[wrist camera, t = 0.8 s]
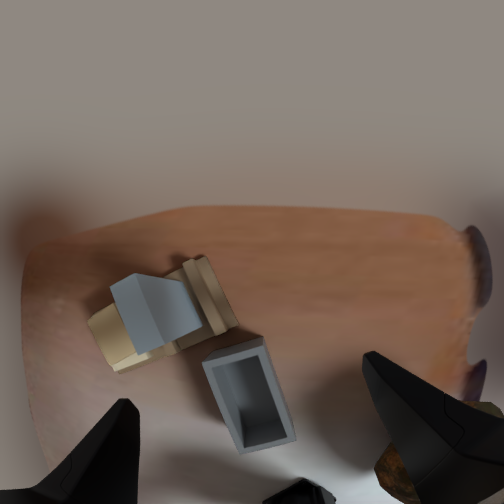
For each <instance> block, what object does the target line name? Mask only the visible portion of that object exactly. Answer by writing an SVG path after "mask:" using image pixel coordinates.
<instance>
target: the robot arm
mask: <svg viewBox="0 0 504 504" xmlns="http://www.w3.org/2000/svg"><path fill="white" fill-rule="evenodd" d="M362 372H363V375H364V378H365V380H366V383H367V386H368V388H369V391H370V394H371V397H372V400H373V402H374V405H375V407H376V409H377V412H378V413H379V415H380V417H381V419H382V421H383V423H384V425H385V427H386V429H387V431H388V433H389V435H390V438H391V440H392V442H393V444H394V446H395V448H396V450H397V452H398V454H399V456H400V458H401V460H402V462H403V465H404V467H405V469H406V471H407V473H408V475H409V477H410V480H411V482H412V484H413V486H414V489H415V491H416V493H417V495H418V498H419V500H420V502H421V504H504V418H500V417H497V416H494V415H491V414H489V413H486V412H484V411H481V410H479V409H476V408H474V407H472V406H469V405H467V404H465V403H463V402H461V401H459V400H457V399H455V398H453V397H452V396H450V395H448V394H446V393H445V394H444V392H443V391H441V390H439V389H438V388H436V387H434V386H433V385H431V384H429V383H427V382H426V381H424V380H422V379H421V378H419V377H417V376H416V375H414V374H412V373H411V372H409V371H407V370H406V369H404V368H402V367H401V366H399V365H397V364H396V363H394V362H392V361H391V360H389V359H387V358H386V357H384V356H382V355H381V354H379V353H377V352H376V351H370V352H367V353H365V354H364V355H363V363H362ZM139 456H140V413H139V411H138V409H137V408H136V407H135V405H134V404H133V403H132V402H131V401H130V400H129V399H128V398H121V399H118V400H117V402H116V403H115V404H114V405H113V406H112V407H111V408H110V409H109V410H108V411H107V413H106V414H105V415H104V416H103V417H102V418H101V419H100V420H99V421H98V423H97V424H96V425H95V426H94V427H93V428H92V429H91V430H90V431H89V433H88V434H87V435H86V436H85V437H84V438H83V439H82V440H81V441H80V443H79V444H78V445H77V446H76V447H75V448H74V449H73V450H72V451H71V453H70V454H69V455H68V456H67V457H66V458H65V459H64V460H63V461H62V462H61V463H60V464H59V465H58V466H57V467H56V468H55V469H54V470H53V471H52V472H51V473H50V474H49V475H48V476H46V477H45V478H44V479H43V480H42V481H41V482H40V483H38V484H37V485H35V486H33V487H31V488H25V489H12V490H0V504H137V497H138V472H139ZM304 482H306V483H304ZM335 502H336V498H335V497H334V496H333V495H332V493H330V492H329V491H327V490H326V489H324V488H323V487H321V486H317V485H315V484H314V483H312V482H311V481H309V480H308V479H302V480H301V481H299V482H297V483H296V484H294V485H292V486H290V487H289V488H287V489H285V490H283V491H282V492H280V493H278V494H276V495H274V496H272V497H270V498H268V499H266V500H265V501H263V502H262V504H266V503H268V504H335Z"/></svg>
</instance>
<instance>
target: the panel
mask: <svg viewBox="0 0 504 504" xmlns="http://www.w3.org/2000/svg"><path fill="white" fill-rule="evenodd" d="M110 289H111V292H112V295H113V297H114V300H115V303H116V305H117V308H118V311H119V313H120V316H121V318H122V320H123V323H124V325H125V328H126V330H127V332H128V335H129V337H130V339H131V341H132V344H133V346H134V348H135V350H136V352H137V354H138V355H141V354H143V353H146V352H148V351H150V350H153V349H155V348H157V347H160V346H162V345H165V344H167V343H169V342H171V341H173V340H175V339H177V338H179V337H181V336H184V335H186V334H188V333H190V332H192V331H194V330H196V329H198V328H200V327H202V326H203V324H202V322H201V320H200V318H199V316H198V314H197V312H196V310H195V307H194V305H193V303H192V301H191V299H190V297H189V294H188V292H187V290H186V288H185V286H184V283H183V282H181V281H175V280H169V279H164V278H158V277H153V276H148V275H142V274H137V273H134V274H132V275H130V276H128V277H126V278H124V279H123V280H121V281H119V282H117V283H115V284H114V285H112V286H110Z"/></svg>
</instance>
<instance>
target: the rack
mask: <svg viewBox="0 0 504 504" xmlns="http://www.w3.org/2000/svg"><path fill="white" fill-rule="evenodd" d="M182 264H183V267H182V268H180V269H178V270H176V271H174V272H172V273H170V274H168V275H166V276H164V277H163V278H164V279H169V280H175V281H181V282H183V283H184V286H185V288H186V290H187V292H188V294H189V297H190V299H191V301H192V303H193V305H194V307H195V310H196V312H197V314H198V316H199V318H200V320H201V322H202V324H203V326H202V327H200V328H198V329H196V330H194V331H192V332H190V333H188V334H186V335H184V336H181V337H179V338H177V339H175V340H173V341H171V342H169V343H167V344H165V345H162V346H160V347H157V348H155V349H153V350H150V351H148V352H146V353H143V354H141V355H138V354H137V352H136V350H135V348H134V346H133V344H132V341H131V339H130V337H129V335H128V332H127V330H126V328H125V325H124V323H123V320H122V318H121V316H120V313H119V311H118V308H117V305H116V303H115V302H114V303H112V304H110V305H108V306H106V307H105V308H103V309H101V310H99V311H97V312H95V313H93V314H94V315H93V316H91V317H92V318H91V319H89V320H88V321H87V322H88V325H89V327H90V329H91V331H92V333H93V335H94V337H95V339H96V341H97V343H98V345H99V347H100V349H101V351H102V353H103V355H104V356H105V358H106V360H107V362H108V364H109V365H110V366H111V365H112V367H113V369H114V371H118V373H119V374H122V373H125V372H127V371H130V370H133V369H135V368H138V367H141V366H143V365H146V364H148V363H151V362H153V361H156V360H158V359H161V358H163V357H166V356H167V357H168V356H171V355H173V354H176V353H178V352H179V351H181V350H183V349H185V348H187V347H190V346H192V345H194V344H197V343H199V342H201V341H204V340H206V339H208V338H210V337H213V336H215V335H216V336H217V335H220V334H222V333H224V332H226V331H227V330H228V329H230V328H232V327H235V326H237V325H239V323H238V321H237V319H236V317H235V315H234V313H233V311H232V309H231V307H230V305H229V303H228V300H227V298H226V296H225V294H224V292H223V290H222V288H221V286H220V284H219V282H218V280H217V277H216V275H215V273H214V271H213V269H212V267H211V265H210V262H209V260H208V258H207V256H204V257H202V258H200V259H198V260H194V259H190V260H188V261H186V262H184V263H182Z"/></svg>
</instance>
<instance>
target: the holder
mask: <svg viewBox="0 0 504 504" xmlns="http://www.w3.org/2000/svg"><path fill="white" fill-rule="evenodd" d="M202 365H203V368H204V371H205V373H206V376H207V379H208V381H209V384H210V386H211V389H212V391H213V394H214V397H215V399H216V401H217V404H218V406H219V409H220V411H221V414H222V416H223V418H224V421H225V423H226V425H227V428H228V430H229V432H230V434H231V437H232V439H233V441H234V443H235V445H236V448H237V450H238V452H239V454H244V453H249V452H254V451H258V450H263V449H267V448H271V447H275V446H279V445H282V444H286V443H289V442H293V441H296V436H295V431H294V427H293V422H292V418H291V415H290V412H289V409H288V407H287V404H286V401H285V398H284V395H283V392H282V389H281V387H280V384H279V381H278V378H277V375H276V372H275V369H274V366H273V363H272V360H271V358H270V355H269V352H268V349H267V346H266V343H265V340H264V337H263V336H262V337H259V338H256V339H253V340H250V341H246V342H243V343H240V344H236V345H233V346H229V347H226V348H222V349H219V350H215V351H212V352H211V353H210V354H209V355H208V357H207V358H206V359H205V360H204V361H203V362H202Z"/></svg>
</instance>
